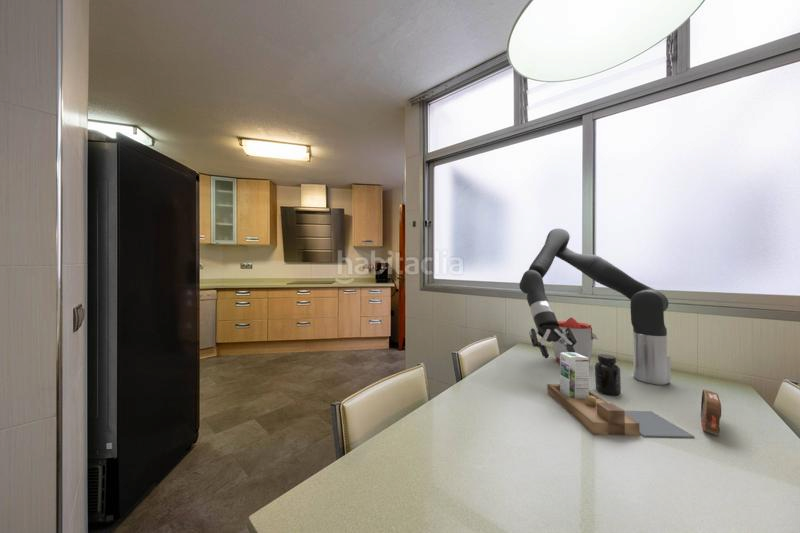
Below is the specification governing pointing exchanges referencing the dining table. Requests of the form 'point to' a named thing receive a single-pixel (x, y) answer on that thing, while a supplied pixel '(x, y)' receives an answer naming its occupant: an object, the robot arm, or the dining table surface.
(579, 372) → the syrup box
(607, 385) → the supplement bottle
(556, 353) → the citrus juicer
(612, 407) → the body
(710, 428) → the tin
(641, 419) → the mat
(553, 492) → the dining table surface
